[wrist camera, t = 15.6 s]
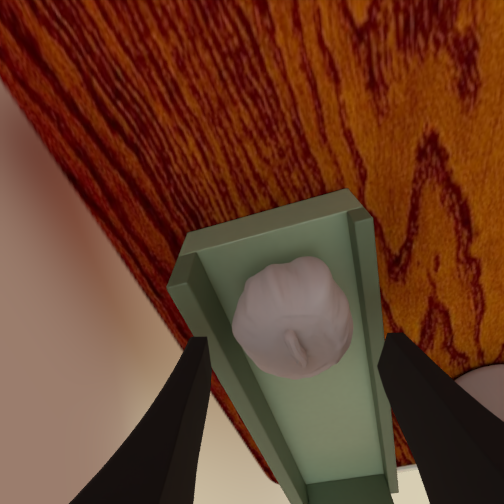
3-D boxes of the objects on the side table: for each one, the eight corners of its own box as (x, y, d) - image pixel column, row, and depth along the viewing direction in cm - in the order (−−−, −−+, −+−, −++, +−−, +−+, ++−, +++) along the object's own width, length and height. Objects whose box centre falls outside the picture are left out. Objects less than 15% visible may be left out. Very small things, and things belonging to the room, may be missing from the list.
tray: (187, 232, 16) (165, 288, 12) (347, 187, 15) (386, 232, 11) (294, 460, 30) (301, 523, 26) (382, 447, 29) (405, 511, 25)
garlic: (240, 232, 14) (235, 308, 9) (352, 243, 14) (400, 322, 10) (230, 324, 17) (224, 415, 12) (323, 331, 17) (349, 422, 13)
